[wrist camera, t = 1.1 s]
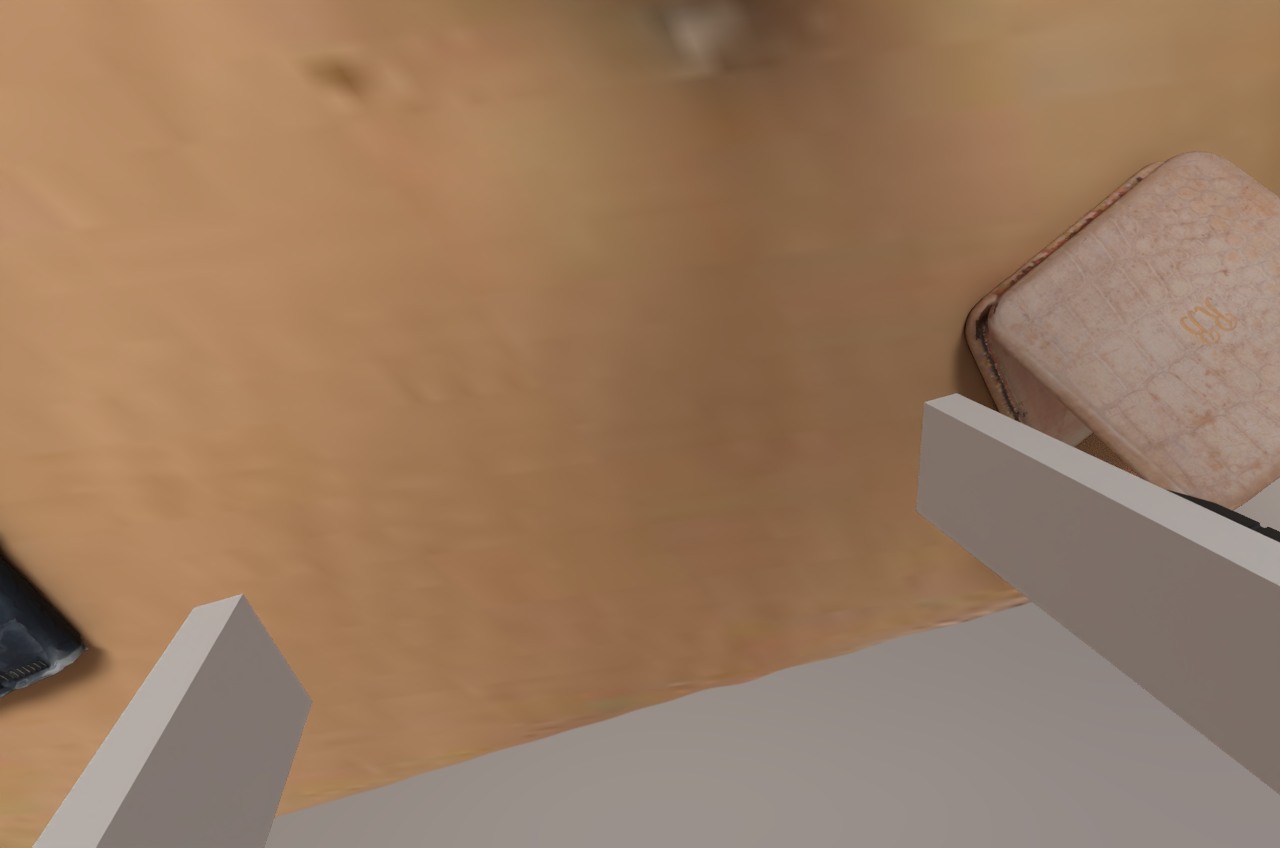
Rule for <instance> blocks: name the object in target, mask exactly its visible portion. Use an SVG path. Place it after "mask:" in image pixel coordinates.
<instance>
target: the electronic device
mask: <svg viewBox="0 0 1280 848" xmlns="http://www.w3.org/2000/svg"><path fill="white" fill-rule="evenodd" d="M88 649H89V648H87V647H86V646H85V644H84V641H83V639H81V637H80V635H79V634H78V633H76V632H75V631H74V630H73V629H72V628H70V627H69V626H68V625H67V624H66V623H65V622H64V621H63V620H62V619H61V618H60V617H59V616H58V614H57V613H56V612H55V611H54V610H53V609H52V608H51V606H50V605H49V604H48V603H47V602H45V601H44V600H42V598H41V597H40V596H39V595H38V594H37V593H36V591H35V590H34V589H33V588H32V586H31V585H30V584H29V583H28V582H27V581H26V580H25V579H23V578H22V577H20V576H19V574H18V573H17V572H16V571H15V570H14V569H13V568H12V567H11V566H10V565H9V564H8V563H6V562H4V561H3V559H2V558H1V556H0V698H2V697H4V696H5V695H7V694H8V693H10V692H11V691H13V690H15V689H21V688H24V687H27V686H29V685H31V684H33V683H35V682H37V681H39V680H42V679H44V678H47V677H49V676H52V675H55V674H56V673H58V672H60V671H61V670H62V669H63V668H64V667H65V666H67V665H69V664H71V663H73V662H74V661H75V660H76V659H77V658H78V657H79V656H80V655H81V654H82V652H83V651H86V650H88Z"/></svg>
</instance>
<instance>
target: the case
mask: <svg viewBox="0 0 1280 848" xmlns="http://www.w3.org/2000/svg"><path fill="white" fill-rule="evenodd" d="M965 334H966V339H967V342H968V345H969V347H970V350H971V352H972V354H973V356H974V358H975V361H976V363H977V365H978V367H979V370H980V372H981V374H982V375H983V378H984V380H985V383H986V385H987V387H988V389H989V391H990V394H991V396H992V398H993V400H994V402H995V404H996V406H997V408H998V411H999V413H1001V414H1003V415H1005V416H1007V417H1009V418H1011V419H1014V420H1016V421H1018V422H1020V423H1022V424H1024V425H1027V426H1029V427H1031V428H1033V429H1035V430H1037V431H1040V432H1042V433H1044V434H1046V435H1048V436H1050V437H1052V438H1055V439H1057V440H1059V441H1061V442H1063V443H1065V444H1068V445H1070V446H1072V447H1074V448H1075V447H1077V446H1078V445H1079V444H1080V443H1081V442H1082V441H1084V440H1085V439H1086V438H1087V437H1089V436H1090V435H1092V434H1093V433H1094V434H1095V435H1096V436H1097V437H1098V438H1099V439H1100V440H1101V441H1102V442H1103V443H1105V444H1106V445H1107V446H1108V447H1109V448H1110V449H1111V450H1112V451H1113V452H1114V453H1115V454H1116V455H1117V456H1119V458H1121V459H1122V460H1123V461H1124V462H1125V463H1126V464H1127V465H1128V466H1129V467H1130V468H1131V469H1132V470H1133V471H1134V472H1135V473H1136V474H1138V475H1139V476H1140V477H1141V478H1142V479H1143V480H1145V481H1148V482H1150V483H1152V484H1154V485H1156V486H1158V487H1161V488H1163V489H1165V490H1171V491H1174V492H1178V493H1181V494H1185V495H1189V496H1192V497H1196V498H1199V499H1203V500H1207V501H1210V502H1214V503H1217V504H1219V505H1221V506H1223V507H1226V508H1228V509H1230V510H1232V511H1234V510H1235V509H1237V508H1238V507H1240V506H1242V505H1243V504H1244V503H1246V502H1247V501H1249V500H1250V499H1251V498H1253V497H1254V496H1255V495H1257V494H1258V493H1259V492H1261V491H1262V490H1263V489H1264V488H1266V487H1267V486H1268V485H1270V484H1271V483H1272V482H1274V481H1275V480H1277V479H1278V478H1280V198H1279V197H1278V196H1276V195H1275V194H1273V193H1272V192H1271V191H1269V190H1268V189H1266V188H1265V187H1264V186H1262V185H1261V184H1260V183H1258V182H1257V181H1255V180H1254V179H1252V178H1251V177H1250V176H1249V175H1247V174H1246V173H1244V172H1243V171H1242V170H1240V169H1239V168H1237V167H1236V166H1234V165H1233V164H1231V163H1230V162H1229V161H1227V160H1226V159H1224V158H1222V157H1221V156H1218V155H1216V154H1212V153H1208V152H1201V151H1193V152H1187V153H1183V154H1180V155H1177V156H1174V157H1172V158H1170V159H1168V160H1167V161H1165V162H1156V163H1153V164H1150V165H1148V166H1146V167H1144V168H1143V169H1141V170H1140V171H1139V172H1137V173H1136V174H1135V175H1133V176H1132V177H1131V178H1130V179H1128V180H1127V181H1126V182H1125V183H1124V184H1123V185H1121V186H1120V187H1119V188H1118V189H1117V190H1115V191H1114V192H1113V193H1112V194H1110V195H1109V196H1108V197H1107V198H1106V199H1105V200H1103V201H1102V202H1101V203H1100V204H1098V205H1097V206H1096V207H1095V208H1094V209H1092V210H1091V211H1090V212H1088V213H1087V214H1086V215H1085V216H1084V217H1082V218H1081V219H1080V220H1079V221H1078V222H1076V223H1075V224H1074V225H1073V226H1071V227H1070V228H1069V229H1068V230H1067V231H1065V232H1064V233H1063V234H1062V235H1060V236H1059V237H1058V238H1057V239H1055V240H1054V241H1053V242H1052V243H1051V244H1049V245H1048V246H1047V247H1046V248H1044V249H1043V250H1042V251H1041V252H1039V253H1038V254H1037V255H1036V256H1034V257H1033V258H1032V259H1031V260H1030V261H1028V262H1027V263H1026V264H1024V265H1023V266H1022V267H1021V268H1020V269H1019V270H1017V271H1016V272H1015V273H1014V274H1013V275H1011V276H1010V277H1009V278H1007V279H1006V280H1005V281H1003V282H1002V283H1001V284H1000V285H998V286H997V287H996V288H995V289H993V290H992V291H991V292H990V293H989V294H988V295H986V296H985V297H984V298H983V299H982V300H980V301H979V302H978V303H977V304H976V306H975V307H974V308H973V309H972V311H971V312H970V314H969V317H968V319H967V322H966V327H965Z"/></svg>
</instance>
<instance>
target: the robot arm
mask: <svg viewBox="0 0 1280 848" xmlns="http://www.w3.org/2000/svg"><path fill="white" fill-rule="evenodd" d="M916 511H917V512H918V513H919V514H920V515H922V516H923V517H924V518H925V519H927V520H928V521H929V522H931V523H932V524H933V525H934V526H936V527H937V528H938V529H940V530H941V531H942V532H943V533H945V534H946V535H947V536H949V537H950V538H951V539H952V540H954V541H955V542H956V543H958V544H959V545H960V546H961V547H963V548H964V549H965V550H967V551H968V552H969V553H970V554H972V555H973V556H974V557H976V558H977V559H978V560H979V561H981V562H982V563H983V564H984V565H986V566H987V567H988V568H990V569H991V570H992V571H993V572H995V573H996V574H997V575H999V576H1000V577H1001V578H1002V579H1004V580H1005V581H1006V582H1008V583H1009V584H1010V585H1011V586H1013V587H1014V588H1015V589H1017V590H1018V591H1019V592H1020V593H1022V594H1023V595H1024V596H1026V597H1027V598H1028V599H1029V600H1031V601H1032V602H1033V603H1034V604H1036V605H1037V606H1039V607H1040V608H1041V609H1042V610H1044V611H1045V612H1046V613H1047V614H1049V615H1050V616H1051V617H1052V618H1054V619H1055V620H1056V621H1058V622H1059V623H1060V624H1061V625H1063V626H1064V627H1065V628H1067V629H1068V630H1069V631H1070V632H1072V633H1073V634H1074V635H1076V636H1077V637H1078V638H1079V639H1081V640H1082V641H1083V642H1085V643H1086V644H1087V645H1088V646H1090V647H1091V648H1092V649H1093V650H1095V651H1096V652H1097V653H1099V654H1100V655H1101V656H1103V657H1104V658H1105V659H1106V660H1108V661H1109V662H1110V663H1111V664H1113V665H1114V666H1115V667H1117V668H1118V669H1119V670H1120V671H1122V672H1123V673H1124V674H1126V675H1127V676H1128V677H1130V678H1131V679H1132V680H1133V681H1134V682H1136V683H1137V684H1138V685H1140V686H1141V687H1142V688H1143V689H1145V690H1146V691H1147V692H1149V693H1150V694H1151V695H1152V696H1154V697H1155V698H1156V699H1158V700H1159V701H1160V702H1161V703H1163V704H1164V705H1165V706H1167V707H1168V708H1169V709H1170V710H1172V711H1173V712H1174V713H1176V714H1177V715H1179V717H1181V718H1182V719H1183V720H1184V721H1186V722H1187V723H1188V724H1190V725H1191V726H1192V727H1193V728H1195V729H1196V730H1197V731H1199V732H1200V733H1201V734H1203V735H1204V736H1205V737H1206V738H1208V739H1209V740H1210V741H1211V742H1213V743H1214V744H1215V745H1217V746H1218V747H1219V748H1220V749H1222V750H1223V751H1224V752H1226V753H1227V754H1228V755H1229V756H1231V757H1232V758H1233V759H1235V760H1236V761H1237V762H1238V763H1240V764H1241V765H1242V766H1243V767H1245V768H1246V769H1247V770H1249V771H1250V772H1251V773H1252V774H1254V775H1255V776H1256V777H1258V778H1259V779H1260V780H1261V781H1263V782H1264V783H1265V784H1267V785H1268V786H1269V787H1270V788H1272V789H1273V790H1274V791H1276V792H1277V793H1278V794H1280V532H1279V531H1277V530H1274V529H1272V528H1270V527H1267V528H1263V527H1261V526H1260V523H1259V522H1257V521H1254V520H1252V519H1250V518H1248V517H1245V516H1243V515H1241V514H1239V513H1237V512H1234V511H1232V510H1230V509H1228V508H1226V507H1223V506H1221V505H1219V504H1217V503H1214V502H1210V501H1207V500H1203V499H1199V498H1196V497H1192V496H1189V495H1185V494H1181V493H1178V492H1174V491H1171V490H1165V489H1163V488H1161V487H1158V486H1156V485H1154V484H1152V483H1150V482H1148V481H1145V480H1143V479H1141V478H1139V477H1137V476H1135V475H1132V474H1130V473H1128V472H1126V471H1124V470H1122V469H1120V468H1117V467H1115V466H1113V465H1111V464H1109V463H1107V462H1104V461H1102V460H1100V459H1098V458H1096V457H1094V456H1091V455H1089V454H1087V453H1085V452H1083V451H1081V450H1078V449H1076V448H1074V447H1072V446H1070V445H1068V444H1065V443H1063V442H1061V441H1059V440H1057V439H1055V438H1052V437H1050V436H1048V435H1046V434H1044V433H1042V432H1040V431H1037V430H1035V429H1033V428H1031V427H1029V426H1027V425H1024V424H1022V423H1020V422H1018V421H1016V420H1014V419H1011V418H1009V417H1007V416H1005V415H1003V414H1001V413H998V412H996V411H994V410H992V409H990V408H988V407H985V406H983V405H981V404H979V403H977V402H975V401H972V400H970V399H968V398H966V397H964V396H962V395H959V394H957V393H955V394H952V395H948V396H945V397H941V398H938V399H934V400H930V401H927V402H924V412H923V426H922V439H921V452H920V466H919V479H918V493H917V506H916ZM311 704H312V700H311V699H310V697H309V695H308V694H307V692H306V691H305V689H304V688H303V686H302V685H301V683H300V681H299V680H298V678H297V677H296V675H295V674H294V672H293V671H292V669H291V668H290V666H289V664H288V663H287V661H286V660H285V658H284V657H283V655H282V654H281V652H280V651H279V649H278V647H277V646H276V644H275V643H274V641H273V640H272V638H271V637H270V635H269V633H268V632H267V630H266V629H265V627H264V626H263V624H262V623H261V621H260V620H259V618H258V616H257V615H256V613H255V612H254V610H253V609H252V607H251V606H250V604H249V603H248V601H247V599H246V598H245V596H244V595H243V594H241V595H237V596H234V597H230V598H227V599H223V600H219V601H216V602H212V603H209V604H205V605H202V606H198V607H195V608H193V610H192V611H191V613H190V614H189V616H188V617H187V619H186V620H185V622H184V623H183V625H182V626H181V628H180V629H179V631H178V632H177V634H176V635H175V636H174V638H173V639H172V641H171V642H170V644H169V645H168V647H167V648H166V650H165V651H164V653H163V654H162V656H161V657H160V659H159V660H158V662H157V663H156V665H155V666H154V668H153V669H152V671H151V672H150V674H149V675H148V676H147V678H146V679H145V681H144V682H143V684H142V685H141V687H140V688H139V690H138V691H137V693H136V694H135V696H134V697H133V699H132V700H131V702H130V703H129V705H128V706H127V708H126V709H125V711H124V712H123V714H122V715H121V717H120V718H119V719H118V721H117V722H116V724H115V725H114V727H113V728H112V730H111V731H110V733H109V734H108V736H107V737H106V739H105V740H104V742H103V743H102V745H101V746H100V748H99V749H98V751H97V752H96V754H95V755H94V757H93V758H92V760H91V761H90V762H89V764H88V765H87V767H86V768H85V770H84V771H83V773H82V774H81V776H80V777H79V779H78V780H77V782H76V783H75V785H74V786H73V788H72V789H71V791H70V792H69V794H68V795H67V797H66V798H65V800H64V801H63V802H62V804H61V805H60V807H59V808H58V810H57V811H56V813H55V814H54V816H53V817H52V819H51V820H50V822H49V823H48V825H47V826H46V828H45V829H44V831H43V832H42V834H41V835H40V837H39V838H38V840H37V841H36V843H35V844H34V845H33V847H32V848H264V847H265V844H266V841H267V837H268V835H269V832H270V829H271V826H272V823H273V820H274V817H275V814H276V811H277V808H278V804H279V801H280V798H281V795H282V792H283V789H284V786H285V783H286V780H287V777H288V774H289V771H290V768H291V765H292V762H293V759H294V756H295V753H296V750H297V747H298V744H299V741H300V738H301V735H302V732H303V729H304V725H305V722H306V719H307V716H308V713H309V710H310V707H311Z"/></svg>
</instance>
